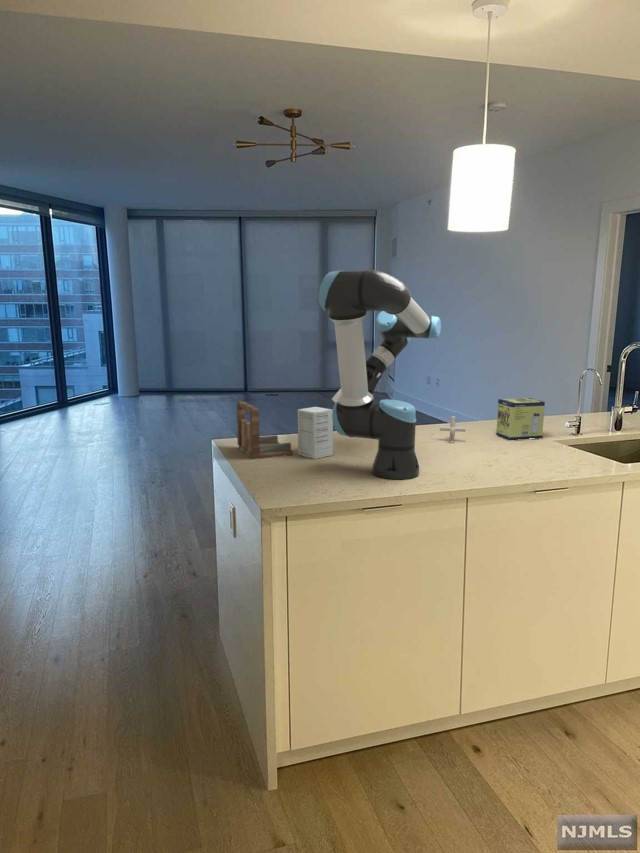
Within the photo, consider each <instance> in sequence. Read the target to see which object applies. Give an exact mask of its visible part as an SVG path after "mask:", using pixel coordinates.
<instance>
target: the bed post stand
mask: <svg viewBox="0 0 640 853" xmlns="http://www.w3.org/2000/svg"><path fill="white" fill-rule="evenodd" d="M236 401H237V403H236V426H237V428H236V431H237V434H236V435H237V445H238V449H239V450H240V449H241V450H242V451H241V450H240V451H241V452H243V451H244V452H245V453H244V452H243V453H244V454H246V455H247V456H248V455H249V456H248V457H250V458H251V457H252V458H253V459H252V458H251V459H252V460H256V459H255V458H259V459H265V458H264V457H268V458H274V457H273V456H277V457H285V456H284V455H286V456H292V455H294V454H293V452H294V451H293V450H292V443H291V442H283V443H282V442H281V443H280V442H279V441H278V437H279V436H278V435H276V434H274V435H267V436H266V435H265V436H260V412H259V407H256V406H255V405H252V404H249V403H248V402H246V401H243V400H236ZM246 411H248V412H249V421H248V420H246Z"/></svg>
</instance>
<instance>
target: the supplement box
mask: <svg viewBox="0 0 640 853" xmlns="http://www.w3.org/2000/svg"><path fill="white" fill-rule="evenodd" d="M332 413H333V408H325V407H319V406H312V407H311V406H310V407H304V408H300V409H297V445H298V446H297V453H298V454H297V455H298V456H301V455H302V457H305V458H309V459H313V460H317V459H321V458H326V457H329V456H334V425H333V420H332Z"/></svg>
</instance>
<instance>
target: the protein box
mask: <svg viewBox="0 0 640 853" xmlns="http://www.w3.org/2000/svg"><path fill="white" fill-rule="evenodd" d="M545 403H546V402H545V401H544V400H540V399H536V398H531V397H523V398H519V397H518V398H517V397H516V398H498V400H497V416H496V430H495V431H496V432H495V436H496V435H498V436H497V437H499V436H500V437H499V438H501V437H503V438H502V439H504V438H505V439H504V440H506V439H508V440H507V441H509V440H515V441H519V440H518V439H529V438H542V439H543V432H544V430H543V428H544V419H545V418H544V416H545V405H546V404H545Z"/></svg>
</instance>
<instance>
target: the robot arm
mask: <svg viewBox="0 0 640 853" xmlns="http://www.w3.org/2000/svg"><path fill="white" fill-rule="evenodd" d="M318 294H319V296H318V298H319V299H318V300H319V305H320V308H321V309H322V310H323V311H324V312H327V313H328V318H329V320H330V321H331V322H333V323H334V331H335V332H334V334H335V342H336V350H337V351H336V352H337V362H338V372H339V381H340V388H339V390H338V391H336V393H335V394H334V396H332V398H331V400H332V401H333V402H334V404H333V407H332V410H333V413H332V420H333V428H334V429H335V431H336V432H337V433H338V434H339V435H341V436H344V437H349V438H359V439H360V438H361V439H366V440H367V439H369V440H378V446H377V452H376V454H375V457H374V459H373V463H372V465H371V466H372V468H371V471H372V472H371V473H372V474H373V475H375V476H376V477H379V478H383V479H389V480H390V479H391V480H408V479H414V478H416V477H419V475H420V465H419V461H418V458H417V454H416V452H415V450H416V449H415V445H416V444H415V443H416V425H417V424H416V423H417V418H416V417H417V415H416V412H417V410H416V407H415V406H414V405H413V404H412V403H409V402H406V401H402V400H398V399H390V398H389V399H388V398H387V399H380V401H379V403H375V401H374V395H373V393H374V391H375V389H376V388H377V385H378V383H379V381H380V380H381V378H382V376H383V375H382V374H384V373H385V372H386V370H387V368H389V367H390V365H392V364H393V362H394V361H395V359H397V357H398V356H399V355H400V354H401V352H403V350H404V349H405V348H406V347H407V346H408V345H409V343H410V342H411V340H412V339H413V338H414V339H428V340H429V339H437V338H439V337H440V334H441V331H442V330H441V329H442V321H441V318H440V317H438V316H435V315H430V316H429V315H428V314H427V313H426V312H425V311H424V310H423V309H422V308H421V306H420V305H419V304H418V303H417V302H416V301H415V300H414V299H413V298H412V295H411V291H410V290H409V288H408V287H407V285H405V284H404V283H403V282H402V281H401V280H399V279H397V278H396V277H395V276H392V275H391V274H389V273H386V272H385V271H384V272H383V271H381V270H374V269H372V270H371V269H370V270H369V269H368V270H367V269H366V270H342V269H341V270H336V271H335V270H333V271H330V272H328V273H327V274H325V276H324V277H323V279H322V281H321V284H320V286H319V292H318ZM371 311H372V312H377V311H379V313H378V314H377V315H376V318H375V323H376V326H377V330H378V331H379V334H380V335H381V337H382V340H383V341H382V342H381V344H380V345H378V347H377V348H376V349H375V350H374V351H373V353H372V354H371V355H370V356H369V357H368V358H367V360H366V348H365V338H364V337H365V336H364V325H363V320H364V319H365V318H366V316H367V315H368V313H367V312H371Z"/></svg>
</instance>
